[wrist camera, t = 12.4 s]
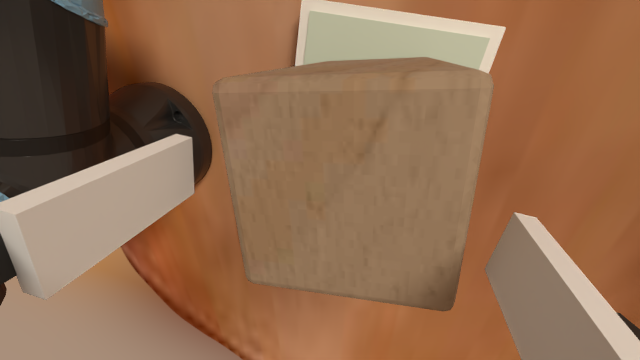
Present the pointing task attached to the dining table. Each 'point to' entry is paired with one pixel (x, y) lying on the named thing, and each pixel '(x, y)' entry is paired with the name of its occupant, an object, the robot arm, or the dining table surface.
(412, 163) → the wooden block
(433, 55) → the picture frame
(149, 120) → the robot arm
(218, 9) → the dining table surface
